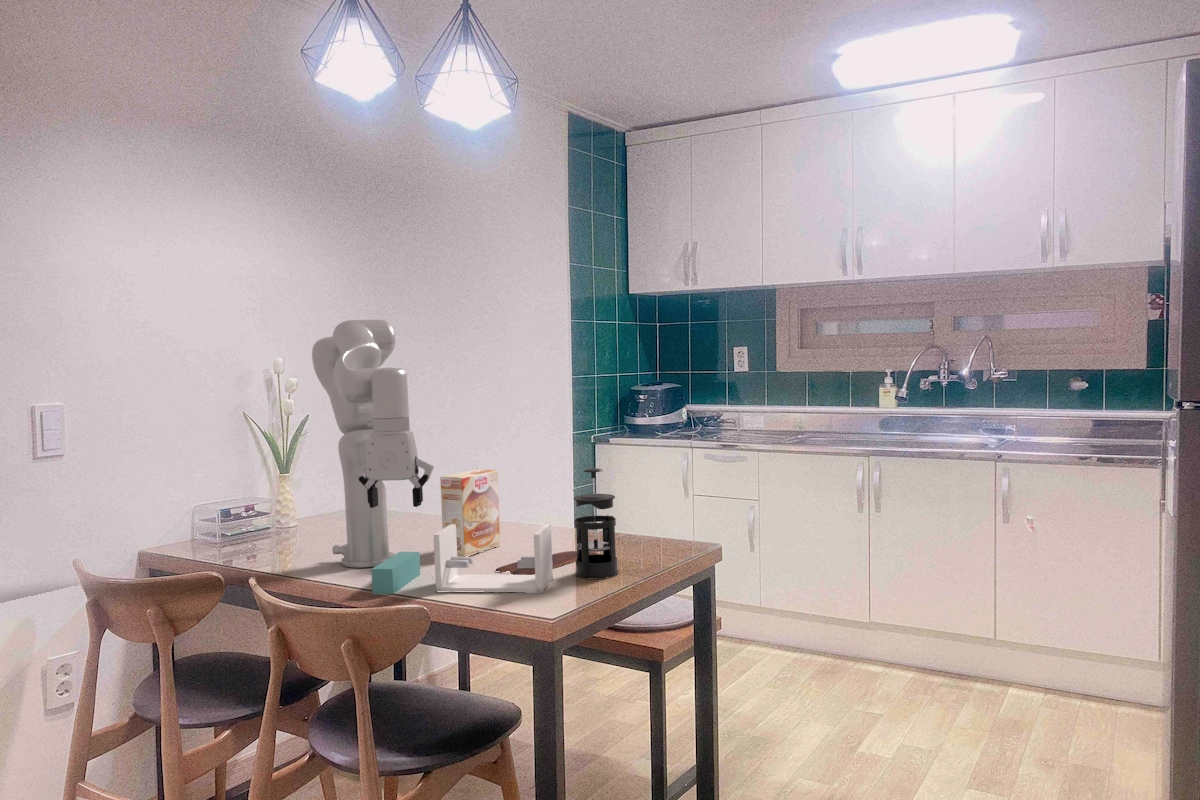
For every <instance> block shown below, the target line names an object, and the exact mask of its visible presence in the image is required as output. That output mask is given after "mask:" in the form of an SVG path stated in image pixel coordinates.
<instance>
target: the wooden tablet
mask: <svg viewBox="0 0 1200 800" xmlns="http://www.w3.org/2000/svg"><path fill="white" fill-rule="evenodd" d="M593 554H597V552H589V555H593ZM576 559H577V550H570V551H569V550H568V551H563V552H557V553H556V552H555V553H552V566H553V569H555V567H556V568H560V567H563V566H566V565H569V564H572V563H575V562H574V561H576ZM571 562H572V563H571ZM568 563H569V564H568ZM565 564H566V565H565ZM562 565H563V566H562ZM559 566H560V567H559ZM495 571H500V572H506V571H510V573H511V574H513V575H530V574H532V575H534V574H533V573H535V568H518V567H517V562H512V563H509V564H505V565H502V566H500V567H496V569H495Z"/></svg>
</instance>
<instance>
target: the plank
mask: <svg viewBox="0 0 1200 800" xmlns="http://www.w3.org/2000/svg"><path fill="white" fill-rule="evenodd" d="M394 554H395V555H394V556H392V557H390V558H389V559H387V560H385V561H384V562H382V563H381V564H379V565H377V566H374V567H371V571H370V572H371V587H372V590H371V591H372V592H371V593H372V595H384V594H394V593H395V592H396V593H398V592H399V591H400V590H402V589H403V588H405V587H406V586H407V585H409V584H410V583H412V582H411V581H412V580H413V579H414V580H416V579H417V578H418V577H419V575H420V576H421V567H420V566H421V564H420V563H421V562H420V551H399V552H397V553H394ZM416 577H417V578H416ZM415 578H416V579H415ZM414 580H413V581H414ZM409 582H410V583H409ZM408 583H409V584H408ZM405 585H406V586H405ZM404 586H405V587H404ZM402 587H403V588H402ZM401 588H402V589H401ZM398 590H399V591H398ZM397 591H398V592H397ZM396 593H395V594H396ZM395 594H394V595H395Z"/></svg>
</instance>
